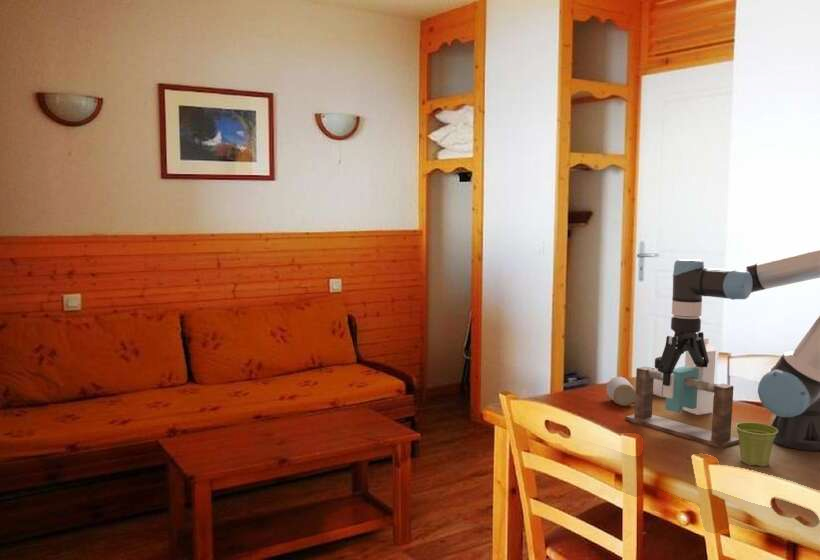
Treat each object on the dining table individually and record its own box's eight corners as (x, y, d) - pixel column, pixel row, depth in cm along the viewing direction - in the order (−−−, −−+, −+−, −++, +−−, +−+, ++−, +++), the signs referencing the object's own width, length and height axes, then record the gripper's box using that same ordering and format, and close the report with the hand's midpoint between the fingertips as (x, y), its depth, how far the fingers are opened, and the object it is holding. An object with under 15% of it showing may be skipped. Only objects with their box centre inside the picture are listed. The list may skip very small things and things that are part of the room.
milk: (682, 410, 226) (685, 338, 224) (696, 407, 229) (700, 336, 227) (698, 415, 221) (701, 341, 219) (712, 412, 224) (716, 340, 221)
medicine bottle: (662, 397, 240) (664, 360, 239) (646, 392, 247) (648, 356, 245) (679, 395, 243) (681, 359, 242) (663, 390, 249) (665, 354, 248)
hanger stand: (739, 442, 197) (743, 386, 195) (722, 448, 192) (726, 390, 190) (642, 415, 221) (645, 364, 219) (625, 419, 216) (627, 368, 214)
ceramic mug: (613, 407, 229) (614, 382, 228) (605, 399, 237) (606, 376, 236) (647, 408, 229) (649, 383, 228) (638, 400, 237) (640, 376, 236)
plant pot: (757, 471, 176) (759, 435, 175) (724, 458, 184) (726, 424, 184) (784, 466, 180) (787, 431, 179) (752, 453, 188) (754, 420, 187)
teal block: (683, 404, 210) (685, 366, 208) (696, 407, 207) (698, 368, 205) (665, 409, 205) (667, 369, 203) (678, 413, 201) (680, 372, 200)
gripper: (699, 310, 213) (696, 384, 215) (646, 318, 198) (642, 397, 200) (724, 314, 207) (720, 389, 209) (671, 322, 192) (667, 403, 194)
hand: (682, 393), depth 205 cm, fingers open, 13 cm apart
